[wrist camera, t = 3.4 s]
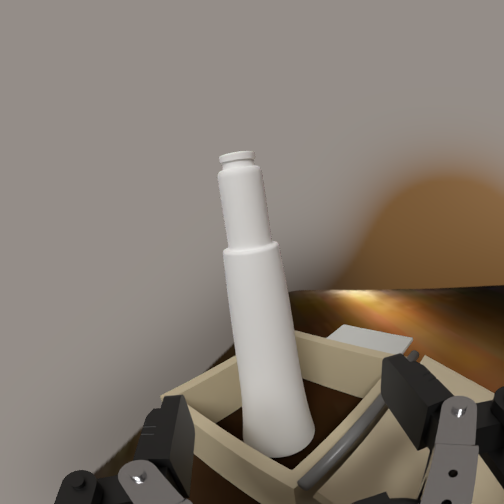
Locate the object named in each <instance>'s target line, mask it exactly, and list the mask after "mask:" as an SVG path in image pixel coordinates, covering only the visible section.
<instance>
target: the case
mask: <svg viewBox="0 0 504 504" xmlns="http://www.w3.org/2000/svg"><path fill="white" fill-rule="evenodd" d="M294 332H295V339H296V345H297V351H298V357H299V364H300V369H301V375H302V378H303V379H306V380H309V381H312V382H315V383H317V384H320V385H323V386H326V387H329V388H332V389H335V390H338V391H341V392H344V393H347V394H350V395H354V396H357V397H360V398H363V400H362V401H361V402H360V403H359V404H358V405H357V406H356V408H355V409H354V410H353V411H352V412H351V413H350V414H349V415H348V416H347V417H346V418H345V419H344V421H343V422H342V423H341V424H340V425H339V426H338V427H337V428H336V429H335V430H334V431H333V432H332V433H331V434H330V435H329V436H328V437H327V438H326V439H325V440H324V441H323V442H322V443H321V444H320V445H319V446H318V447H317V448H316V449H315V450H314V451H313V452H312V453H310V454H309V455H308V456H307V457H306V458H305V459H304V460H303V461H302V462H301V463H300V464H299V465H297V466H296V467H295V468H294V469H293V470H290V469H288V468H287V467H285V466H283V465H281V464H279V463H278V462H276V461H274V460H272V459H270V458H269V457H267V456H265V455H264V454H262V453H260V452H259V451H257V450H255V449H254V448H252V447H250V446H249V445H247V444H245V443H244V442H242V441H241V440H239V439H237V438H236V437H234V436H233V435H231V434H230V433H228V432H227V431H225V430H224V429H222V428H221V427H219V426H218V425H216V424H215V423H217V422H219V421H220V420H222V419H223V418H225V417H226V416H228V415H230V414H231V413H233V412H234V411H236V410H237V409H239V408H240V407H242V397H241V388H240V380H239V372H238V365H237V358H236V355H235V356H234V357H232V358H230V359H228V360H227V361H225V362H223V363H221V364H219V365H218V366H216V367H214V368H212V369H210V370H209V371H207V372H205V373H203V374H201V375H199V376H197V377H196V378H194V379H192V380H190V381H188V382H186V383H184V384H182V385H180V386H179V387H177V388H175V389H173V390H171V391H169V392H167V393H165V394H163V395H161V396H160V398H161V401H162V402H163V398H164V396H171V395H184V397H185V399H186V402H187V405H188V408H189V411H190V414H191V417H192V420H193V423H194V428H195V443H194V454H195V455H196V456H197V457H199V458H200V459H201V460H202V461H204V462H205V463H206V464H207V465H209V466H210V467H211V468H212V469H214V470H215V471H216V472H218V473H219V474H220V475H221V476H223V477H224V478H225V479H227V480H228V481H229V482H231V483H232V484H234V485H235V486H236V487H238V488H239V489H240V490H242V491H243V492H245V493H246V494H248V495H249V496H251V497H252V498H253V499H255V500H256V501H258V502H259V503H261V504H322V503H320V502H319V501H317V500H316V499H315V498H313V496H314V495H315V493H316V492H317V491H318V490H319V489H320V488H321V487H322V486H323V485H324V484H325V483H326V482H327V481H328V480H329V479H330V478H331V477H332V476H333V475H334V474H335V472H336V471H337V470H338V469H339V468H340V467H341V466H342V465H343V464H344V463H345V462H346V460H347V459H348V458H349V457H350V456H351V455H352V454H353V452H354V451H355V450H356V449H357V448H358V447H359V445H360V444H361V443H362V442H363V441H364V439H365V438H366V437H367V436H368V435H369V433H370V432H371V431H372V430H373V428H374V427H375V426H376V425H377V423H378V422H379V421H380V419H381V418H382V417H383V415H384V414H385V413H386V411H387V410H388V409H389V408H388V406H387V405H386V403H385V402H384V400H383V398H382V395H381V374H382V360H383V358H385V357H388V356H392V355H395V354H391V353H386V352H382V351H377V350H373V349H368V348H364V347H360V346H355V345H351V344H347V343H343V342H339V341H335V340H331V339H327V338H323V337H319V336H315V335H311V334H307V333H303V332H299V331H296V330H294ZM418 357H419V353H418V352H417V351H415V350H413V351H411V353H410V354H409V356H408V357H406V358H407V359H408V360H409V361H410V362H412V361H416V360H417V359H418Z"/></svg>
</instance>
